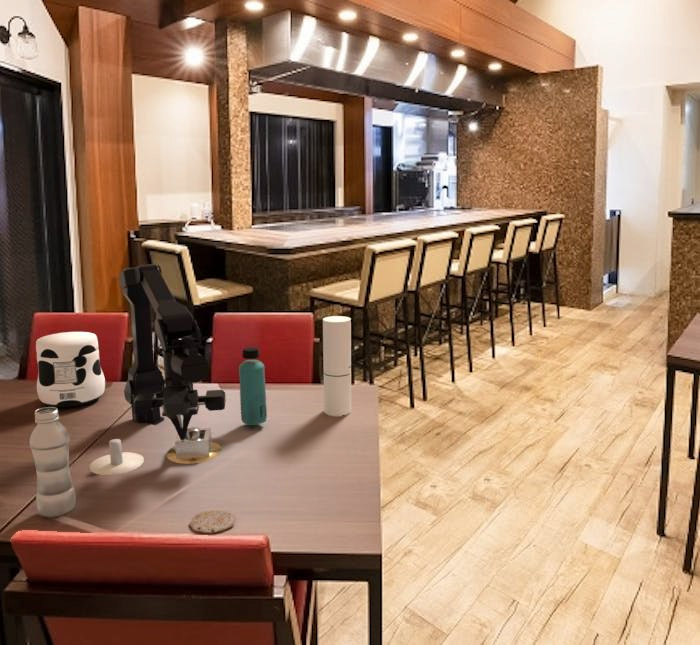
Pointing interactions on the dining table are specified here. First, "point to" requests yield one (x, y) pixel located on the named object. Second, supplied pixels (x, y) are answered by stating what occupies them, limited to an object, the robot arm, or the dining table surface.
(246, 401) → the beverage bottle
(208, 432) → the collar
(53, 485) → the plastic bottle
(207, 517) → the flatbread
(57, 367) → the milk container
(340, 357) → the cylindrical container
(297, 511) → the dining table surface
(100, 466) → the stand
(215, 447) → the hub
